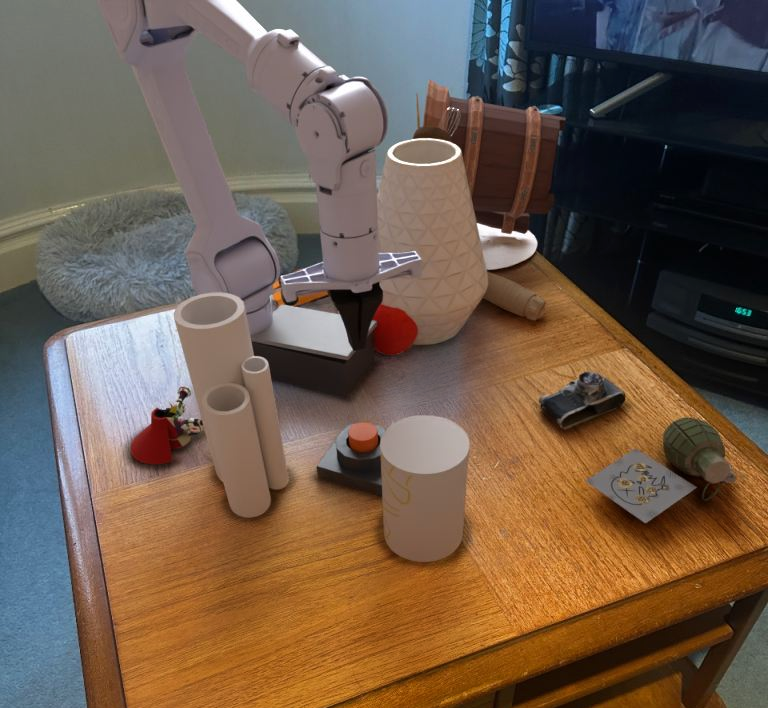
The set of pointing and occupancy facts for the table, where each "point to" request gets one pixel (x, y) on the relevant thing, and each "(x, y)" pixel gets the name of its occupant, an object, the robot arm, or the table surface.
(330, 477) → the block
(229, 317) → the vase
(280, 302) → the toy car
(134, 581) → the table surface
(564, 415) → the camera
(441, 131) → the utensil holder
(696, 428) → the grenade
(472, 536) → the table surface
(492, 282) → the handle
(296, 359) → the lidded storage box
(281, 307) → the lid
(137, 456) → the action figure
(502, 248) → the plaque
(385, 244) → the vase
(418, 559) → the cup
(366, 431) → the button
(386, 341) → the apple
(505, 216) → the wooden chest
